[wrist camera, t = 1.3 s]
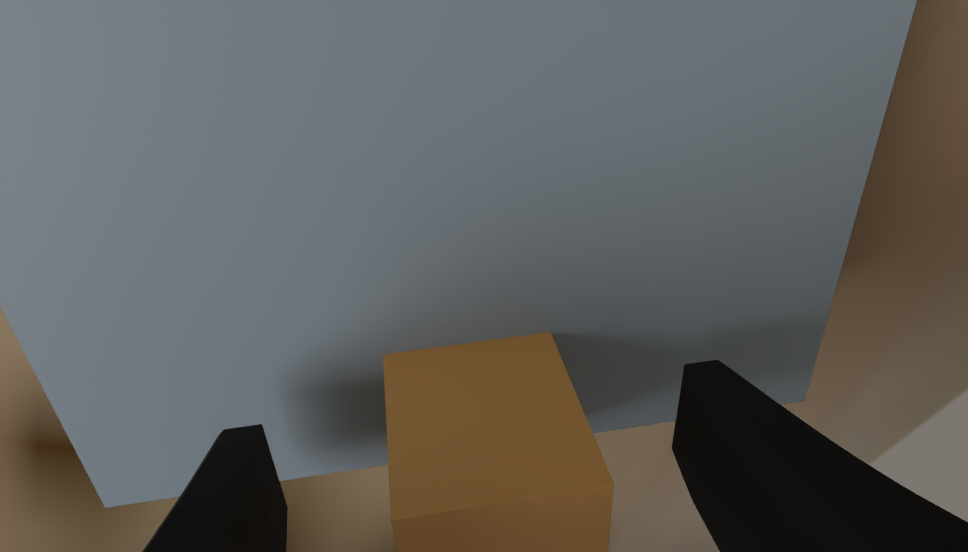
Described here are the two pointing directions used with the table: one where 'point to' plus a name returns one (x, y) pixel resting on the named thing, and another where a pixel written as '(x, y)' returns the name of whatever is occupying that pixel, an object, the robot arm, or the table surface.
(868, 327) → the table surface
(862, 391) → the table surface
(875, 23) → the carton lid
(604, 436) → the table surface
